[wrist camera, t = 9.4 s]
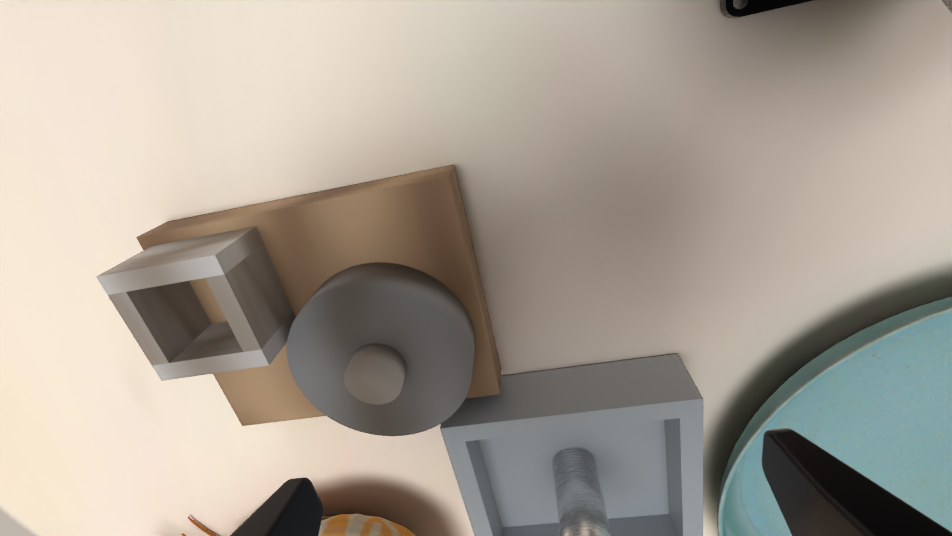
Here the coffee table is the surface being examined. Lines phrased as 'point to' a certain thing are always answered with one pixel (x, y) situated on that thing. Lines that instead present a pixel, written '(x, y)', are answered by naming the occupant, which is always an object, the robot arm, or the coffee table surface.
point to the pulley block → (321, 305)
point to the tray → (584, 447)
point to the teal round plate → (859, 420)
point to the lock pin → (579, 494)
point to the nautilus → (351, 526)
